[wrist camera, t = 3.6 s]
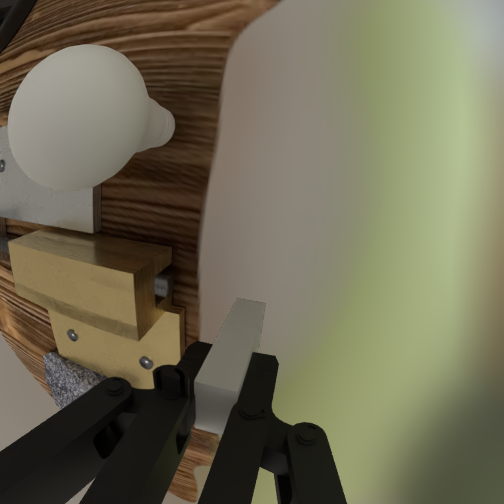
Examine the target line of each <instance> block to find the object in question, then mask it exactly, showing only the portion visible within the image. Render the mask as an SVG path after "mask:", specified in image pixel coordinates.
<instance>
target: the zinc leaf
mask: <svg viewBox="0 0 504 504" xmlns="http://www.w3.org/2000/svg"><path fill="white" fill-rule="evenodd" d="M5 218H10V219H15V220H21V221H27V222H32V223H38V224H43V225H49V226H54V227H60V228H66V229H71V230H77V231H83V232H88V233H95V232H98V231H100V230H101V183H100V184H98V185H96V186H94V187H91V188H88V189H84V190H79V191H58V190H54V189H51V188H47V187H44V186H41V185H40V184H38V183H36V182H35V181H33V180H32V179H31V178H30V177H28V176H27V175H26V174H25V173H24V172H23V170H22V169H21V168H20V167H19V165H18V164H17V162H16V161H15V159H14V157H13V154H12V151H11V148H10V144H9V138H8V125H7V126H3V127H0V261H2V260H5V259H7V258H9V246H8V242H9V241H11V240H14V239H11V238H8V237H7V234H6V224H5ZM173 288H174V278H173V277H172V276H169V275H164V274H159V273H158V274H157V275H156V276H155V295H158V296H162V297H166V298H169V297H170V296H171V294H172V292H173Z"/></svg>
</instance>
